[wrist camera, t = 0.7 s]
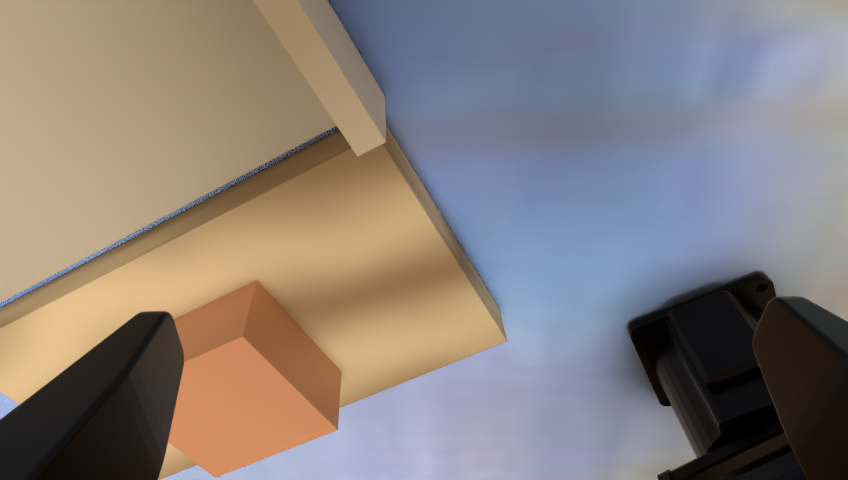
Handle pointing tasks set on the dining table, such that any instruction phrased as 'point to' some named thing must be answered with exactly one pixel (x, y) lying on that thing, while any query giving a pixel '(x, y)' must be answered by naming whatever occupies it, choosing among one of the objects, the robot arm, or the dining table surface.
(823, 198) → the dining table surface
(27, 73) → the box
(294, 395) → the block
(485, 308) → the wooden board
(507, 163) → the dining table surface
